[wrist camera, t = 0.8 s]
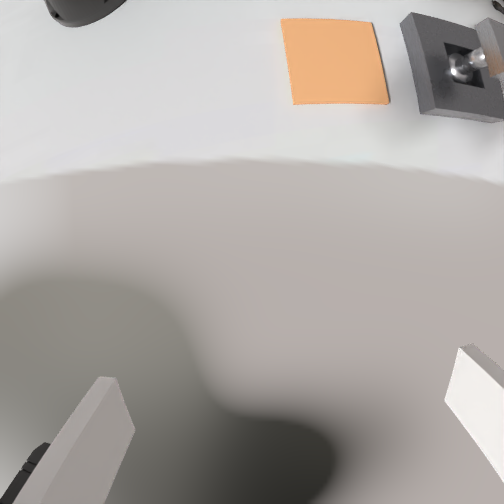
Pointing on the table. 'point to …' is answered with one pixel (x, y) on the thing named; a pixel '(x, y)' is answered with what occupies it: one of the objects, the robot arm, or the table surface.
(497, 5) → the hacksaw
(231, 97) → the table surface
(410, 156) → the table surface
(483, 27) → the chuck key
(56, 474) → the robot arm
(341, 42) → the key mat
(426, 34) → the block
